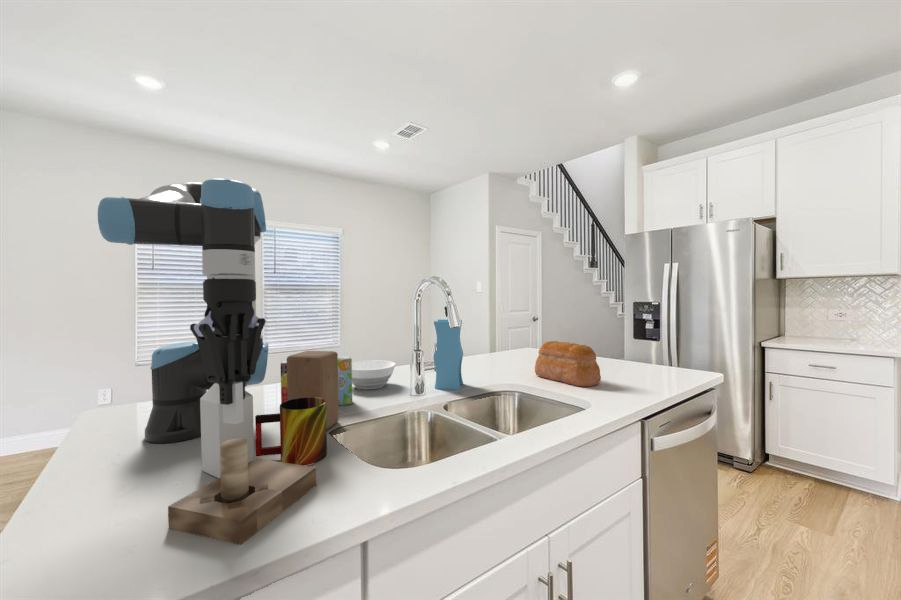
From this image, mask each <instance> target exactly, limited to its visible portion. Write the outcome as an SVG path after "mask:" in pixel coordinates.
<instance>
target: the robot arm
mask: <svg viewBox="0 0 901 600" xmlns="http://www.w3.org/2000/svg"><path fill="white" fill-rule="evenodd" d="M97 224H98V229H99V233H100V234H101V236H102V238H103V239H104V240H106V242H109V243H114V244H126V245H130V246H131V245H161V246H162V245H163V246H164V245H165V246H166V245H167V246H184V247H201V248H202V249H201V250H202V251H201V253H202V255H201V256H202V257H201V258H202V259H201V261H202V262H201V263H202V275H203V276H205V277H206V279H204V281H202V297H203V298H202V299H203V301H204V302H205V303H206V309H205V311H204V318H202V319H201V320H200V321H199V322H198V323H194V322H193V323H192V324H190V326H189V330H190V332H191V333H192V334H193V336H194V338H196V340H192V341H184V342H179V343H174V344H169V345H165V346H161V347H159V348H157V349H155V350H154V351H153V352H152V354H151V366H150V370H151V389H152V390H151V391H152V394H151V395H152V409H151V411H150V414H149V417H148V420H147V424H146V427H145V428H144V440H145V441H146V442H147V443H148V442H149V443H151V444H168V443H176V442H182V441H187V440H191V439H195V438H196V439H197V437H201V413H200V398H201V397H202V396H203V395H204V394H205V393H206V392H207V391H208V390H209V389H210V388H211V387H212V386H213V385H214V384H215V383H218V384H219V392H220V403H221V404H223V423H230V424H238V423H240V422H243V421H244V419H243V399H245V391H246V387H247V386H253V385H260V384H261V383H262V382H263V381H264V380H265V377H266V373H267V367H268V366H267V365H268V358H269V343H268V342H267V341H263V338H264V337H263V334H262V331H263V329H264V327H265V325H266V319H265V318H264V317H258V316H257V282H256V249H255V247H256V246H255V245H256V244H257V242H259V241H260V240H261V233H266V231H267V222H266V214H265V208H264V202H263V199H262V194H261V193H260V191H259V190H257V189H255V188H252V186H251V185H250V184H248V183H246V182H242V181H239V180H234V179H229V178H227V179H226V178H209V179H206V180H204V181H203V182H195V181H188V182H180V183H179V182H178V183H174V184H172V183H171V184H167V185H162V186H159V187H157V188H156V189H153V191H152V192H150V195H147V196H144V197H140V198H129V197H126V196H120V197H117V196H116V197H113V196H111V197H110V196H106V197H103V198H101V200H100V201H99V204H98V206H97Z"/></svg>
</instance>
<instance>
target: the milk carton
mask: <svg viewBox="0 0 901 600" xmlns="http://www.w3.org/2000/svg"><path fill="white" fill-rule="evenodd" d="M200 413H201V436H200V444H201V445H200V446H201V447H200V448H201V449H200V450H201V471H202V472H204V473H207V474H209V475H211V476H212V477H213V476H214V477H215V478H218V479H219V478H221V471H220V444H221V443H223V442H225V441H227V440H231V439H237V438H244V439H247V440H248V462H250V461H252V460H254V459H255V440H254V439H255V436H254V434H255V433H254V431H255V429H254V426H255V425H254V396H253V394H251V393H250V392H248V391H246V390H245V399H243V419H244V421H243V422H240V423H238V424H230V423H223V404H221V403H220V392H219V384H218V383H215V384H214V385H213V386H212V387H211V388H210V389H209V390H207V392H206V393H205V394H204V395H203V396H202V397H201V398H200Z"/></svg>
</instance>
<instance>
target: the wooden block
mask: <svg viewBox="0 0 901 600" xmlns="http://www.w3.org/2000/svg"><path fill="white" fill-rule="evenodd" d="M338 357H339V354H338V352H336V351H333V350H332V351H331V350H305V351H301V352H298V353H295V354H290V355H288V356H287V357H286V360H287V401H288V400H292V399H297V398H305V397H317V398H323V399H325V400H326V429H327V430H328V429H330V428H331V427H333V426H334V425H335V424H337V423H338V422H339V417H340V416H339V413H340V412H339V406H338Z"/></svg>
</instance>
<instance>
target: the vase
mask: <svg viewBox="0 0 901 600" xmlns="http://www.w3.org/2000/svg"><path fill="white" fill-rule="evenodd" d="M459 320H460V321H461V326H460V327H458V328H453V329H452V328H450V326H449V322H448V318H447V319H442V318H441V319H439V318H438V319H437V321H435V320H433V325H434V327H435V328H434V329H435V335H436V345H435V350H434V353H433V362H434V366H435V384H434V389H435V390H447V391H448V390H449V391H451V390H453V391H460V390H461V385H463V384H464V382H463V376H462V375H463V374H462V362H463V357H464V350H463V347H462V343H461V329H462V324H463V320H462V319H459ZM436 347H437V351H436Z"/></svg>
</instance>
